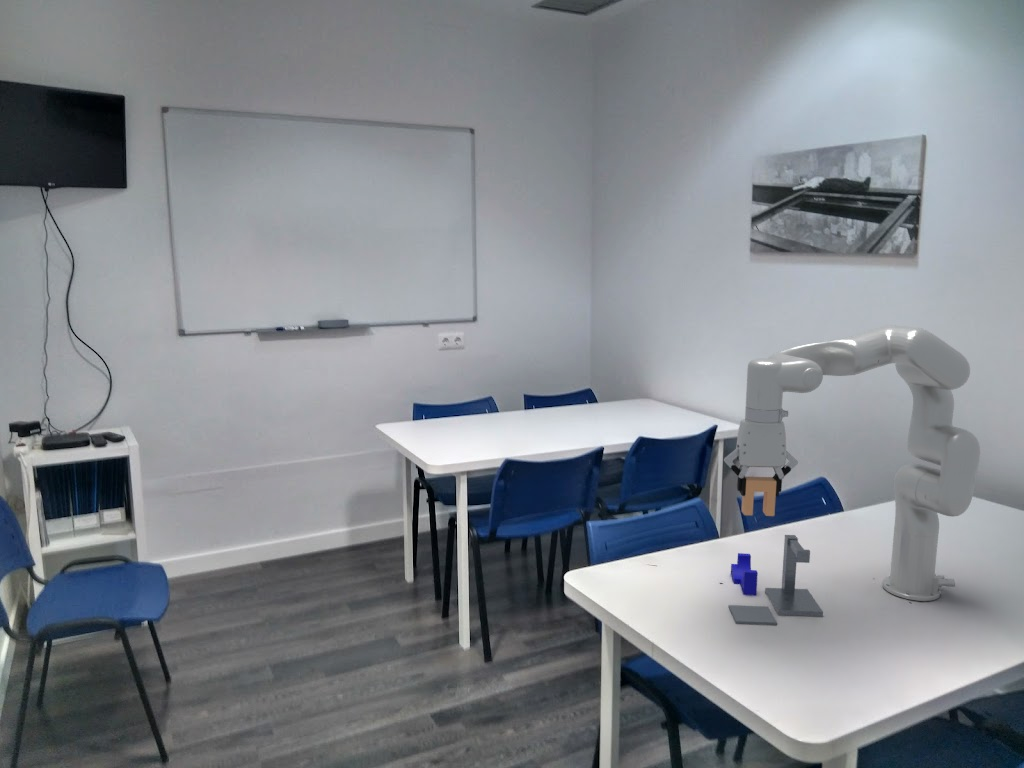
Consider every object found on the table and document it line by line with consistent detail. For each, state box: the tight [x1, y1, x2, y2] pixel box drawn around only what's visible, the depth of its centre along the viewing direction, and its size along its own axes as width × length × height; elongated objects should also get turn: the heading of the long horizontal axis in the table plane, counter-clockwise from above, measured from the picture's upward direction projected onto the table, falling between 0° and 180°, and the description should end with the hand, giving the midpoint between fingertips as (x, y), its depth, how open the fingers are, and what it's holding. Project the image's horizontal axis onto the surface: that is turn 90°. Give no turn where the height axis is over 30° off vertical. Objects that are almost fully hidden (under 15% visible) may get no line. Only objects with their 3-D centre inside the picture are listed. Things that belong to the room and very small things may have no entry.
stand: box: [764, 534, 824, 618], centre depth 177 cm, size 10×12×15 cm
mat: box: [728, 604, 778, 626], centre depth 173 cm, size 9×8×1 cm
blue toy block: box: [730, 552, 759, 596], centre depth 189 cm, size 12×4×6 cm, turn 171°
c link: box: [740, 476, 777, 517], centre depth 168 cm, size 6×3×8 cm, turn 85°
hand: (758, 493), depth 168 cm, fingers closed on c link, 6 cm apart
